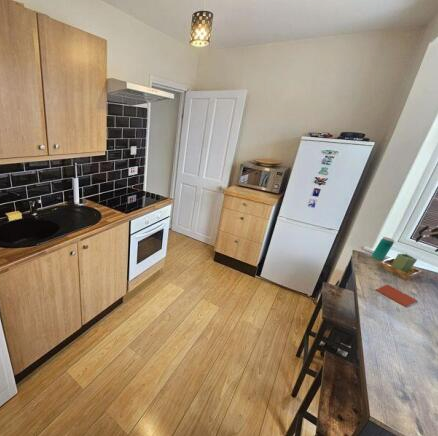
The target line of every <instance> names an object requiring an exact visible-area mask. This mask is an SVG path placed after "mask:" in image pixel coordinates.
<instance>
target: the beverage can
mask: <svg viewBox="0 0 438 436" xmlns="http://www.w3.org/2000/svg"><path fill="white" fill-rule="evenodd" d="M394 243H395V240H394V239H393V238H390V237H386V236H384V237H382V238H381V239H380V241H379V243H378V244H377V245H376V247H375V249H374V251H373V253H372V254H371V258H373V259H375V260H377V261H380V262H381V261H384V260H385V258H386V256H387V255H388V253H389V252H390V250H391V248H392V247H393V245H394Z"/></svg>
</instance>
